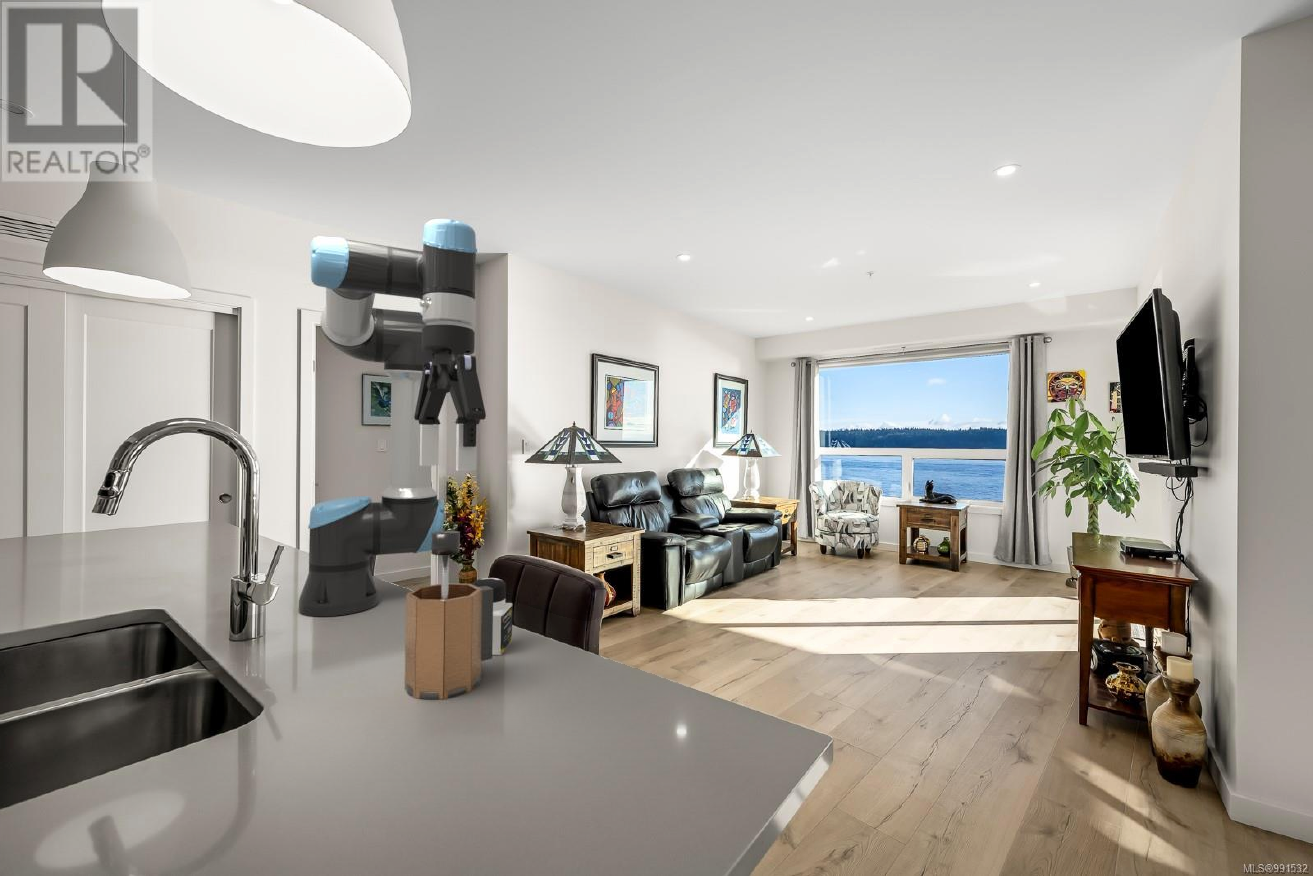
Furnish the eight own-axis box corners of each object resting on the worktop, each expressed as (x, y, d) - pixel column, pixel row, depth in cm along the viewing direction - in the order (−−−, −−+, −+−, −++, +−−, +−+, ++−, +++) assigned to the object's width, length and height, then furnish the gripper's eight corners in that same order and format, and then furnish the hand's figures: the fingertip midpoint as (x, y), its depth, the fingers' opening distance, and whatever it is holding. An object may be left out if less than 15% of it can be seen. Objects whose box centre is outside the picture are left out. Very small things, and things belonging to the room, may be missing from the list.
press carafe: (395, 682, 90) (397, 590, 90) (473, 662, 98) (475, 577, 98) (421, 706, 82) (423, 605, 82) (504, 682, 90) (505, 590, 90)
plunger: (408, 675, 90) (410, 531, 89) (457, 663, 95) (459, 527, 95) (428, 692, 84) (430, 539, 84) (478, 678, 89) (480, 533, 89)
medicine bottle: (501, 656, 101) (502, 585, 101) (459, 655, 101) (461, 585, 101) (512, 641, 108) (513, 576, 108) (473, 640, 108) (474, 575, 108)
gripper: (394, 333, 96) (392, 464, 96) (460, 311, 77) (457, 473, 77) (440, 339, 101) (438, 463, 101) (511, 319, 82) (509, 471, 83)
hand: (446, 468), depth 89 cm, fingers open, 13 cm apart
